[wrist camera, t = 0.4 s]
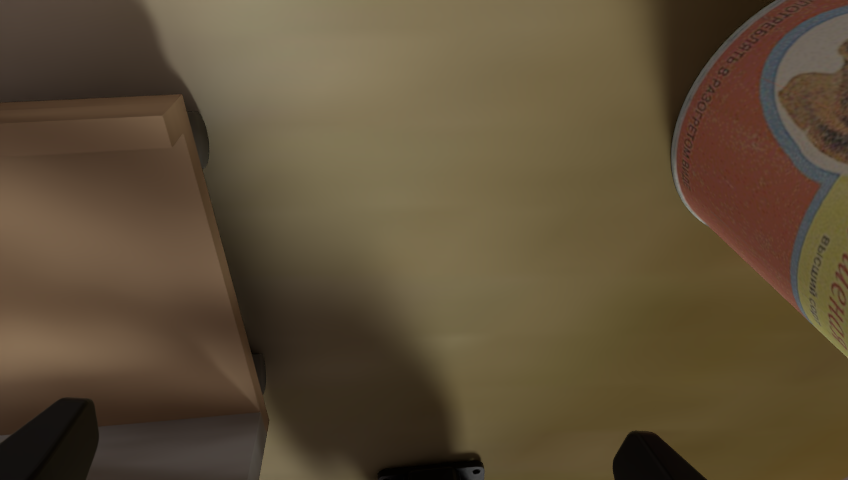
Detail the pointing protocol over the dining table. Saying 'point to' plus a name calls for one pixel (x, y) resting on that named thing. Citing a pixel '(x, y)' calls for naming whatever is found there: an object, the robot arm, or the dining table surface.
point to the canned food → (776, 154)
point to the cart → (124, 289)
